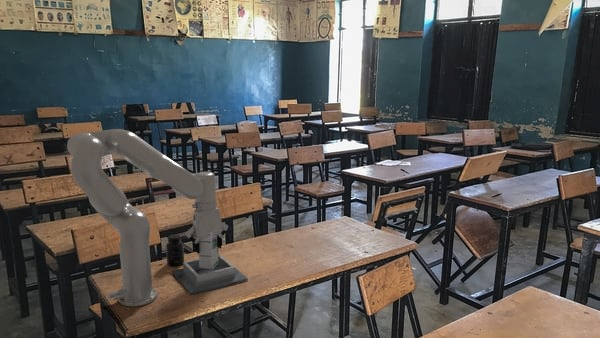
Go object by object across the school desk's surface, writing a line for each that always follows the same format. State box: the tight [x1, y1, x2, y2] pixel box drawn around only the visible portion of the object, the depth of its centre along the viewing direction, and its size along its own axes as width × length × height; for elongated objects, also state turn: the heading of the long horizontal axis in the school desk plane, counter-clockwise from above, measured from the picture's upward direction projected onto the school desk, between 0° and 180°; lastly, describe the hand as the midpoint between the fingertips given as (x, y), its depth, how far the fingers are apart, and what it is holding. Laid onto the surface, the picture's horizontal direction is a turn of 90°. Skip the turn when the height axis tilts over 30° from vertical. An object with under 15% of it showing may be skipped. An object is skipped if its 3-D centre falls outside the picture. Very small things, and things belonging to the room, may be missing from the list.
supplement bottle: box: [165, 234, 185, 268], centre depth 183 cm, size 7×7×12 cm
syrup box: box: [198, 232, 219, 269], centre depth 170 cm, size 6×6×14 cm
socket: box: [171, 253, 249, 296], centre depth 172 cm, size 22×22×5 cm
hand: (208, 249), depth 170 cm, fingers closed on syrup box, 8 cm apart
